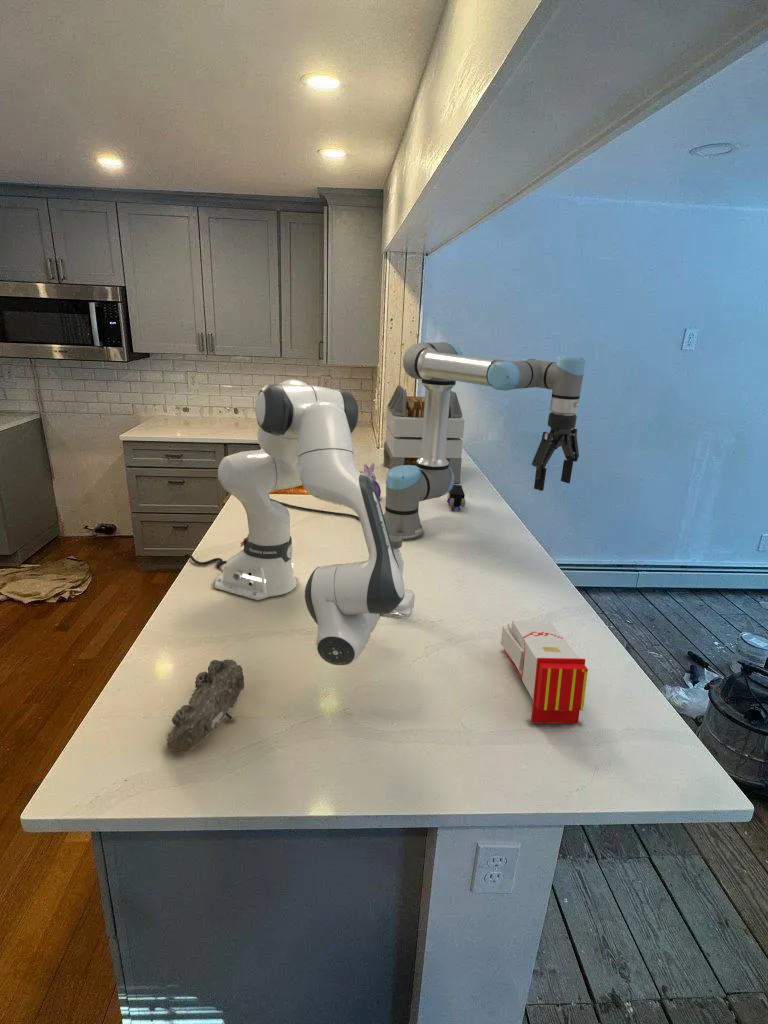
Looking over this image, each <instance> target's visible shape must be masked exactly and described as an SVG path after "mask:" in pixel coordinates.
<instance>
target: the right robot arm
mask: <svg viewBox="0 0 768 1024" xmlns="http://www.w3.org/2000/svg"><path fill="white" fill-rule="evenodd" d="M585 365H586V360H585V358H584V357H582V356H578V355H566V354H565V355H564V354H563V355H558V356H557V357H556V360H555V361H549V360H541V359H536V358H524V359H521V360H506V359H505V360H504V359H503V360H502V359H496V358H487V357H479V356H471V355H464V354H463V352H462V350H461V349H460V347H459V346H457V345H456V344H455V343H451V342H445V341H443V342H442V341H441V342H440V341H439V342H438V341H437V342H417V343H414V344H412V345H411V346H409V347H408V348H407V350H406V351H405V353H404V355H403V358H402V366H403V369H404V372H405V373H406V374H407V375H408V376H409V377H411V378H412V379H415V380H421V385H422V386H423V387H424V389H425V392H424V397H425V404H424V419H423V434H422V449H421V457H420V458H418V459H417V461H416V466H413V465H401V466H396V467H394V468H392V469H390V468H389V470H388V472H387V474H386V479H385V504H384V505H385V507H384V508H385V509H384V512H383V515H384V519H385V522H386V526H387V530H388V533H389V536H399V537H401V538H402V541H410V540H415V539H418V538H420V537H421V536H422V535H423V525H422V524H421V518H420V515H419V507H420V506H419V505H420V502H423V501H427V500H431V499H437V498H440V497H443V496H446V495H448V493H449V491H450V490H451V489H452V487H453V485H455V483H454V473H452V469H451V467H450V466H449V462H448V461H447V459H446V458H445V453H446V441H447V428H448V416H449V404H450V392H451V391H452V389H453V388H454V387H455V386H456V384H457V382H461V383H465V384H473V385H479V386H487V387H491V388H492V389H494V390H496V391H503V392H504V391H511V390H520V389H532V388H533V389H534V388H539V389H546V390H551V398H550V404H549V413H548V418H547V419H548V420H547V426H548V427H549V428H550V431H549V432H548V431H543V432H542V435H541V440H540V442H539V445H538V447H537V449H536V452H535V454H534V457H533V460H532V461H531V466H533V467H535V475H534V477H535V478H534V485H533V489H534V490H537V491H539V492H543V491H544V489H545V484H546V483H545V482H546V476H547V468H546V466H547V465H548V463H549V461H550V459H551V457H552V456H553V454H554V453H555V451H556V450H557V449H558V448H560V447H561V449H562V452H563V455H564V458H565V459H563V463H562V468H561V469H562V470H561V475H560V482H562V483H566V484H571V478H572V472H573V466H574V463H576V462H578V461H579V457H580V453H579V444H578V428H576V423H577V419H578V416H577V414H578V412H579V411H578V410H579V406H580V397H581V391H582V385H583V380H584V376H585ZM270 500H273V501H276V502H278V503H280V504H282V505H284V506H285V507H289V508H293V509H297V510H298V509H299V510H303V511H307V512H314V513H321V514H322V513H323V514H329V515H334V516H335V515H336V516H342V517H343V516H344V517H350V518H354V519H357V520H359V521H360V519H359V517H358V515H355V514H353V513H345V512H336V511H329V510H322V509H315V508H308V507H303V506H297V505H293V504H289V503H285V502H282V501H278V500H276V499H273V498H270Z"/></svg>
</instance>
